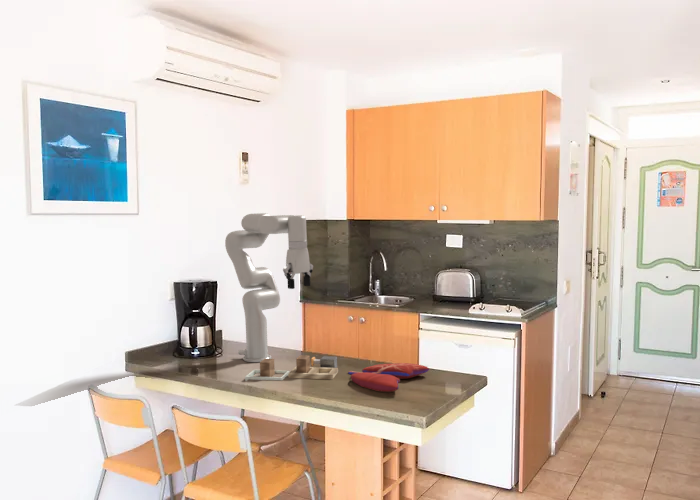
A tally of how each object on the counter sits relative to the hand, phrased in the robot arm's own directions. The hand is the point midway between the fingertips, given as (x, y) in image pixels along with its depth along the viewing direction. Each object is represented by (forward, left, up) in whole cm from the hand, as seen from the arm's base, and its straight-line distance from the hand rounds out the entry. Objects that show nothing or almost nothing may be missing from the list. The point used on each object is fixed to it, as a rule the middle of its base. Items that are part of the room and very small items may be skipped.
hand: (299, 287), depth 249 cm
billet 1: (-11, -11, -35) cm, 38 cm away
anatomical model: (+34, -8, -36) cm, 50 cm away
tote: (-11, -11, -36) cm, 39 cm away
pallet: (+7, -7, -36) cm, 37 cm away
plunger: (+6, +3, -33) cm, 34 cm away
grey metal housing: (+11, +3, -36) cm, 37 cm away
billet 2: (+3, -7, -34) cm, 35 cm away
